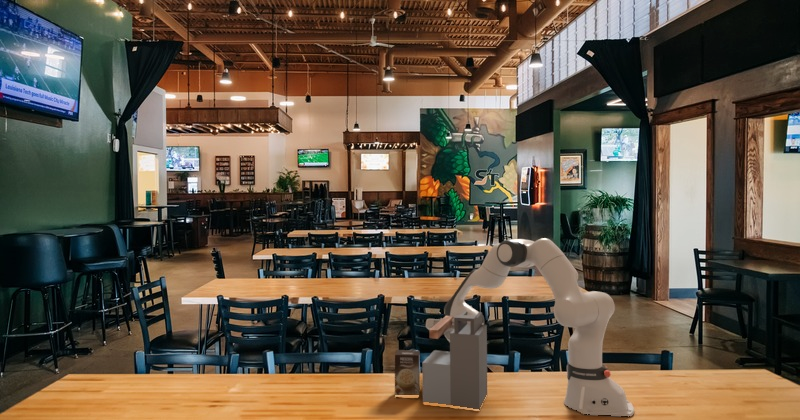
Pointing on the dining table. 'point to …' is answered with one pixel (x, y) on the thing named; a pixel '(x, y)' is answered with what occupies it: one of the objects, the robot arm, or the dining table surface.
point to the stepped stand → (459, 366)
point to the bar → (440, 327)
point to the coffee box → (407, 372)
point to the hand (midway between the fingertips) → (447, 320)
